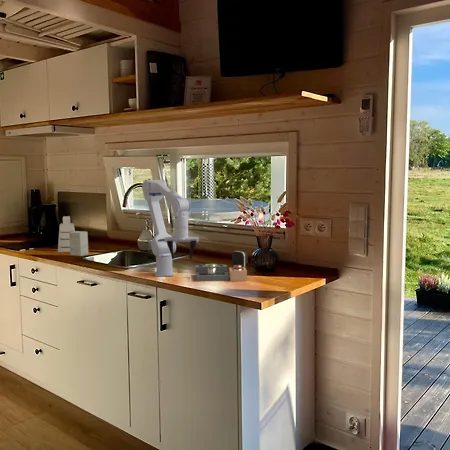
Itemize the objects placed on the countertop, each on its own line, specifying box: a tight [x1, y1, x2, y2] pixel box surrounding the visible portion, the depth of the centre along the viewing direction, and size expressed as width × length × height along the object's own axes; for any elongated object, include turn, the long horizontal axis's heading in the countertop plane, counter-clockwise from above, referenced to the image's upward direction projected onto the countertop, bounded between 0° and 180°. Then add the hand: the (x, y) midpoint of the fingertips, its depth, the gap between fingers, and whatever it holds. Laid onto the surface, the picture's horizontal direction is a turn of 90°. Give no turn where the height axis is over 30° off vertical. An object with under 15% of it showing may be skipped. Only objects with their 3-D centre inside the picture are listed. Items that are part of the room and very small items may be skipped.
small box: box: [69, 230, 89, 257], centre depth 276 cm, size 8×6×13 cm
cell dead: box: [233, 265, 242, 270], centre depth 211 cm, size 4×4×6 cm
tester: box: [194, 263, 230, 282], centre depth 214 cm, size 13×14×6 cm
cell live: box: [207, 263, 217, 275], centre depth 213 cm, size 4×4×6 cm
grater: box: [57, 215, 76, 253], centre depth 291 cm, size 10×10×20 cm
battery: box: [231, 250, 249, 269], centre depth 219 cm, size 7×4×11 cm, turn 47°
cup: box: [228, 267, 248, 282], centre depth 212 cm, size 7×7×5 cm
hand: (181, 258), depth 210 cm, fingers open, 7 cm apart
